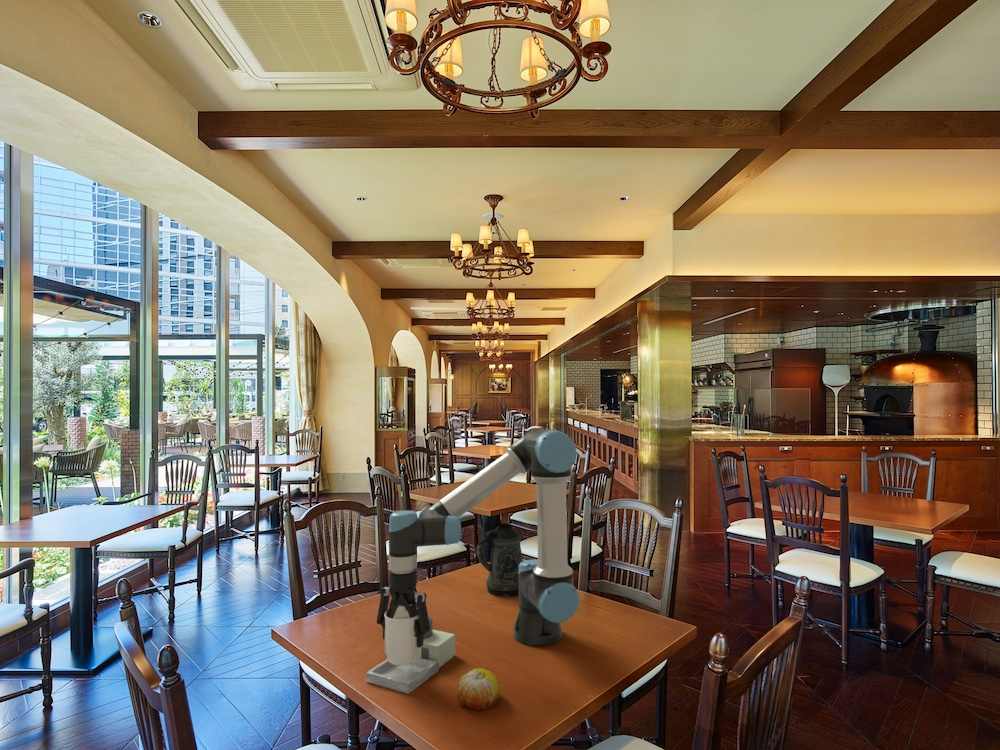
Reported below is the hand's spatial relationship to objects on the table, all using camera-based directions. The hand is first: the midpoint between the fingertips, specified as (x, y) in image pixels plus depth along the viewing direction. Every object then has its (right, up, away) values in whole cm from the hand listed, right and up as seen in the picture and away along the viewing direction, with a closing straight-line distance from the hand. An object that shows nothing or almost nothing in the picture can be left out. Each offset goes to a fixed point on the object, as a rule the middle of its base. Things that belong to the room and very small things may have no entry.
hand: (402, 655), depth 150 cm
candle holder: (0, -1, 0) cm, 1 cm away
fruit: (+21, -5, -13) cm, 25 cm away
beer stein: (+28, -9, +66) cm, 72 cm away
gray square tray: (0, -6, 0) cm, 5 cm away
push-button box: (+3, -6, +12) cm, 14 cm away
